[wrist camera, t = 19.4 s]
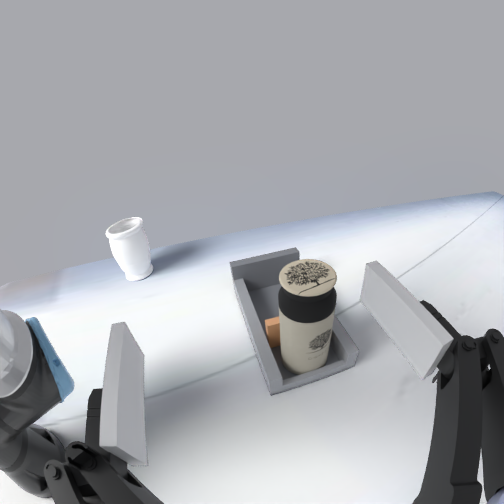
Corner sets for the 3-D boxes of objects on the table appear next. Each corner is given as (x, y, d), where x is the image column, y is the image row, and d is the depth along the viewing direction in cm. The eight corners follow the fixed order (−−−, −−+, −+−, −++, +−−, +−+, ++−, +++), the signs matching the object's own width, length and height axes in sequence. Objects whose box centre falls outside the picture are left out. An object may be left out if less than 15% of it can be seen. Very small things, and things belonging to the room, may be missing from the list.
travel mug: (275, 347, 46) (269, 265, 37) (315, 335, 48) (321, 252, 38) (290, 382, 40) (290, 302, 30) (334, 366, 41) (350, 284, 32)
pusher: (269, 348, 46) (267, 326, 43) (267, 342, 48) (264, 320, 44) (320, 332, 48) (323, 310, 45) (317, 327, 49) (319, 304, 46)
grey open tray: (270, 395, 39) (267, 369, 35) (234, 291, 62) (229, 262, 58) (354, 366, 41) (363, 337, 37) (296, 276, 65) (295, 247, 60)
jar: (155, 258, 78) (141, 213, 70) (158, 277, 70) (142, 227, 62) (123, 268, 75) (106, 224, 67) (122, 288, 67) (103, 239, 59)
